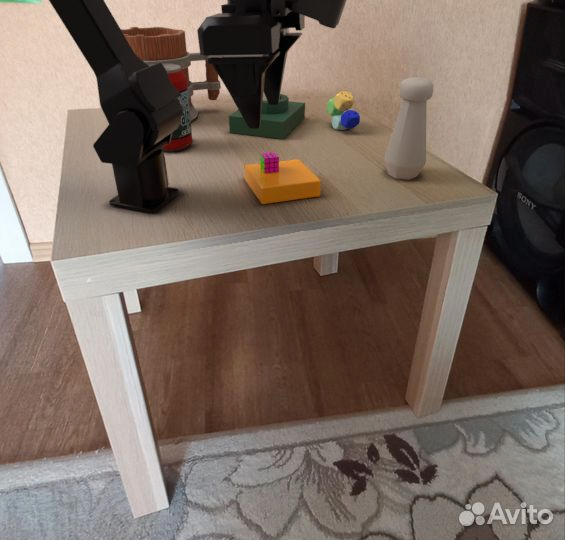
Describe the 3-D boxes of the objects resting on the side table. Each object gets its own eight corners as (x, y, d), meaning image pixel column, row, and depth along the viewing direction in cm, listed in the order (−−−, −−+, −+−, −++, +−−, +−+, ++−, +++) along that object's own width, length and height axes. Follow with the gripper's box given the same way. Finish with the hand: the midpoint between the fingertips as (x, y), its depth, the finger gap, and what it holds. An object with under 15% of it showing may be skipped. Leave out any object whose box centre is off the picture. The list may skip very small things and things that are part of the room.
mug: (117, 112, 92) (101, 26, 84) (210, 102, 99) (205, 22, 91) (130, 132, 82) (114, 37, 73) (234, 120, 89) (230, 32, 80)
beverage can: (180, 155, 73) (170, 73, 66) (142, 149, 75) (129, 69, 68) (200, 141, 78) (193, 64, 72) (164, 137, 80) (154, 61, 73)
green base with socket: (283, 139, 80) (283, 109, 77) (229, 132, 82) (228, 103, 80) (304, 118, 90) (305, 91, 87) (256, 113, 93) (255, 87, 90)
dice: (359, 134, 83) (363, 96, 79) (346, 135, 82) (350, 98, 78) (336, 121, 89) (339, 86, 85) (324, 123, 88) (326, 87, 84)
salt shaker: (423, 183, 65) (442, 85, 58) (381, 180, 66) (395, 82, 59) (421, 168, 70) (439, 75, 62) (382, 165, 71) (395, 73, 63)
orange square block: (298, 173, 67) (299, 144, 65) (320, 196, 61) (322, 165, 59) (244, 180, 65) (243, 150, 63) (261, 204, 59) (261, 172, 57)
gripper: (334, -78, 32) (331, 145, 41) (352, -66, 47) (347, 94, 56) (182, -67, 34) (209, 143, 43) (246, -59, 49) (257, 94, 58)
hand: (264, 115), depth 50 cm, fingers open, 9 cm apart
